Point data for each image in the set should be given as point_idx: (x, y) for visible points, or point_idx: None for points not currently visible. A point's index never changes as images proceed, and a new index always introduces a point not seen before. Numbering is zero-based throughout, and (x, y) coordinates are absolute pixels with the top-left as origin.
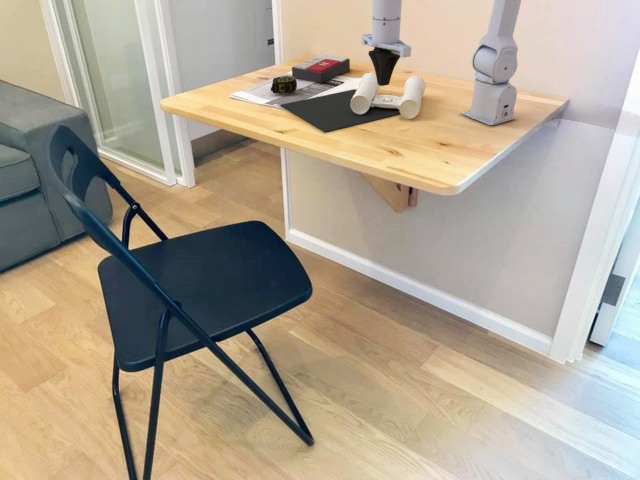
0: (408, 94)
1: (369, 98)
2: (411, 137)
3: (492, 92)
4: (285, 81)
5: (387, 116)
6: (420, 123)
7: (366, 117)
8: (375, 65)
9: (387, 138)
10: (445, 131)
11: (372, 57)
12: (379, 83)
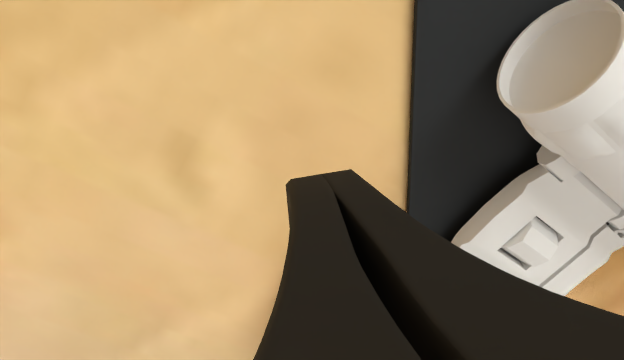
0: None
1: (553, 139)
2: (66, 148)
3: None
4: None
5: (410, 168)
6: (242, 270)
7: (468, 55)
8: (444, 281)
9: (104, 8)
10: (87, 325)
11: (553, 342)
12: (322, 181)
